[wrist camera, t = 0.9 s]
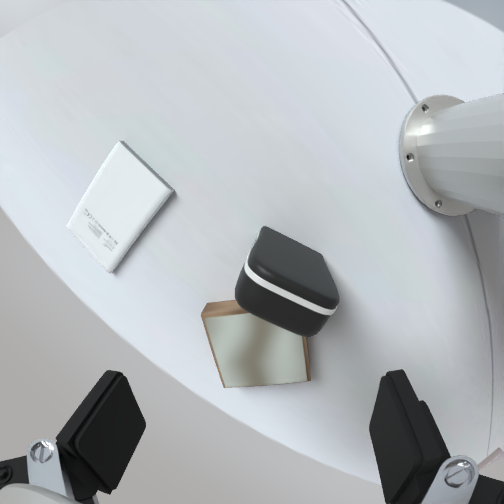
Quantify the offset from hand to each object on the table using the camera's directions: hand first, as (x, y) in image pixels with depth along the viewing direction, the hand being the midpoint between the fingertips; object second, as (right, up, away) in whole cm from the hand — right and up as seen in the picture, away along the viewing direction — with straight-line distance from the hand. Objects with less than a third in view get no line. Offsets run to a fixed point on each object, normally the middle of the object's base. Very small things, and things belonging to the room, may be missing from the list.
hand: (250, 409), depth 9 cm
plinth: (+1, -4, +23) cm, 23 cm away
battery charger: (+3, +5, +20) cm, 21 cm away
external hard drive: (-15, +10, +21) cm, 28 cm away
